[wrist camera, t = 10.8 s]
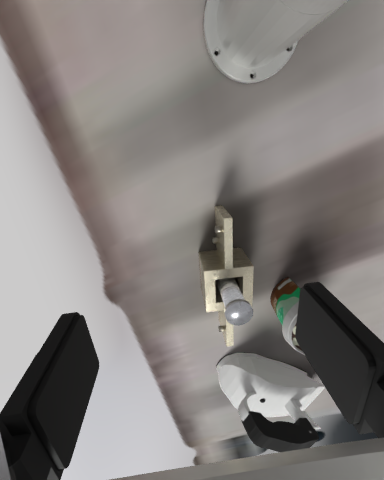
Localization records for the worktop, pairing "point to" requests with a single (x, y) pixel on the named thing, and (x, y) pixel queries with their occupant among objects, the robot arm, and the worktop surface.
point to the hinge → (224, 270)
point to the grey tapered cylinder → (234, 302)
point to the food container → (287, 309)
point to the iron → (270, 400)
